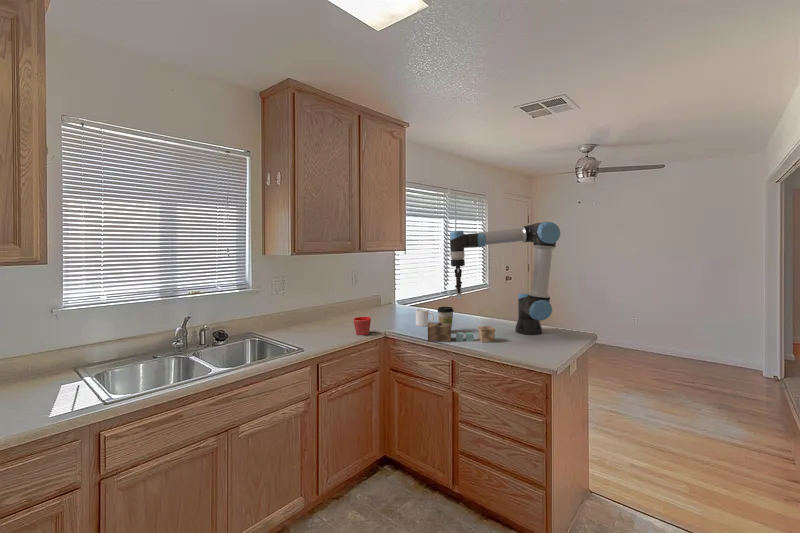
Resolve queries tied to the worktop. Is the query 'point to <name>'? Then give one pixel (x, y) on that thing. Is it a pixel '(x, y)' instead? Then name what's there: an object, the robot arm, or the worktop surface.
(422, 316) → the cup
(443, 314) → the coffee cup
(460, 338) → the cube
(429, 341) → the mat
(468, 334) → the cube
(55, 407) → the worktop surface
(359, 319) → the flower pot
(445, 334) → the brown wooden box
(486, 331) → the oak box
